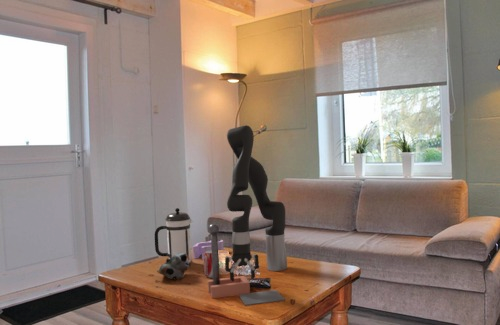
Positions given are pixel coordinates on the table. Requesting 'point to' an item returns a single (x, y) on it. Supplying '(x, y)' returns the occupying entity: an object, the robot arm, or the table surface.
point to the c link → (229, 287)
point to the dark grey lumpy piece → (175, 266)
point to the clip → (204, 248)
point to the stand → (215, 253)
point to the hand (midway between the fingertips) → (242, 279)
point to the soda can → (208, 264)
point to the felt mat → (261, 297)
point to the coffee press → (176, 235)
